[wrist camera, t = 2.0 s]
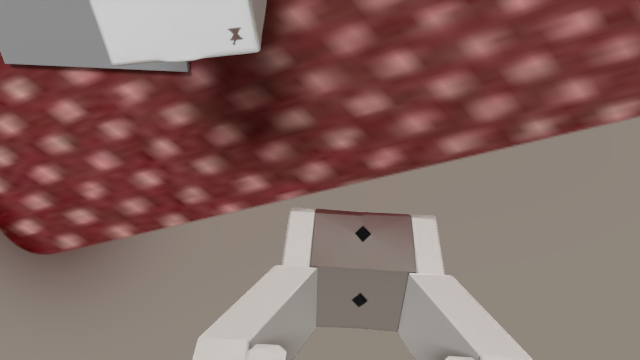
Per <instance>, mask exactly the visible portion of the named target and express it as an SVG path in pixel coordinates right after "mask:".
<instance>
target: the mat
mask: <svg viewBox="0 0 640 360" xmlns="http://www.w3.org/2000/svg"><path fill="white" fill-rule="evenodd" d="M0 52H1V55H2V57H3V60H4V62H5V64H24V65H46V66H68V67H90V68H112V69H134V70H156V71H178V72H188V71H189V69H190V66H189V61H184V62H155V63H145V64H135V65H124V66H114V65H112V64H111V62H110V59H109V56H108V53H107V51H106V48H105V45H104V42H103V39H102V36H101V34H100V31H99V28H98V25H97V22H96V19H95V16H94V14H93V11H92V8H91V5H90V2H89V0H0Z"/></svg>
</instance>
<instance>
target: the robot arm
mask: <svg viewBox="0 0 640 360" xmlns="http://www.w3.org/2000/svg"><path fill="white" fill-rule="evenodd" d="M317 326H318V327H345V328H363V329H374V330H385V331H396V332H398V335H399V336H400V338H401V339H402V341H403V342H404V344H405V346H406V347H407V349H408V350H409V351H410V353H411V355H412V356H413V358H414V359H415V360H533V359H532V358H531V357H530V356H529V355H528V354H527V353H526V352H525V351H524V350H523V349H522V348H521V347H520V346H519V345H518V343H517V342H516V341H515V340H514V339H513V338H512V337H511V336H510V335H509V334H508V333H507V332H506V331H505V330H504V329H503V328H502V327H501V326H500V325H499V324H498V323H497V322H496V321H495V319H494V318H493V317H492V316H491V315H490V314H489V313H488V312H487V311H486V310H485V309H484V308H483V307H482V306H481V305H480V304H479V303H478V302H477V301H476V300H475V299H474V298H473V297H472V296H471V294H470V293H469V292H468V291H467V290H466V289H465V288H464V287H463V286H462V285H461V284H460V283H459V282H458V281H457V280H456V279H455V278H454V277H453V276H450V275H445V271H444V265H443V258H442V252H441V245H440V240H439V233H438V226H437V220H436V218H435V216H434V215H415V214H410V215H408V214H389V213H368V212H350V211H338V210H325V209H316V210H315V209H305V208H294V207H292V208H291V211H290V214H289V221H288V227H287V234H286V241H285V247H284V254H283V261H282V265H274V266H273V267H272V268H271V269H270V270H269V271H268V272H267V273H266V274H265V275H264V276H263V277H262V278H261V279H260V280H259V281H258V282H257V283H256V284H254V285H253V286H252V287H251V288H250V289H249V290H248V291H247V292H246V293H245V294H244V295H243V296H242V297H241V298H240V299H239V300H238V301H237V302H236V303H234V305H232V306H231V307H230V308H229V309H228V310H227V311H226V312H225V313H224V314H223V315H222V316H221V317H220V318H219V319H218V320H217V321H216V322H215V323H213V324H212V325H211V327H209V328H208V329H207V330H206V331H205V332H204V333H203V334H202V335H201V336H200V337H199V338H198V341H197V345H196V348H195V352H194V356H193V360H293V359H294V358H295V356H296V355H297V354H298V352H299V351H300V350H301V348H302V347H303V346H304V344H305V343H306V342H307V340H308V339H309V338H310V336H311V335H312V334H313V332H314V331H315V330H316V327H317Z"/></svg>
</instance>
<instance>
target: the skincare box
mask: <svg viewBox="0 0 640 360" xmlns="http://www.w3.org/2000/svg"><path fill="white" fill-rule="evenodd" d="M89 2H90V5H91V8H92V11H93V14H94V16H95V19H96V22H97V25H98V28H99V31H100V34H101V36H102V39H103V42H104V45H105V48H106V51H107V53H108V56H109V59H110V62H111V64H112V65H114V66H124V65H135V64H145V63H155V62H184V61H194V60H198V59H203V58H211V57H220V56H229V55H239V54H248V53H257V52H259V51H260V49H261V39H262V31H263V24H264V18H265V11H266V3H267V0H89Z"/></svg>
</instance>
